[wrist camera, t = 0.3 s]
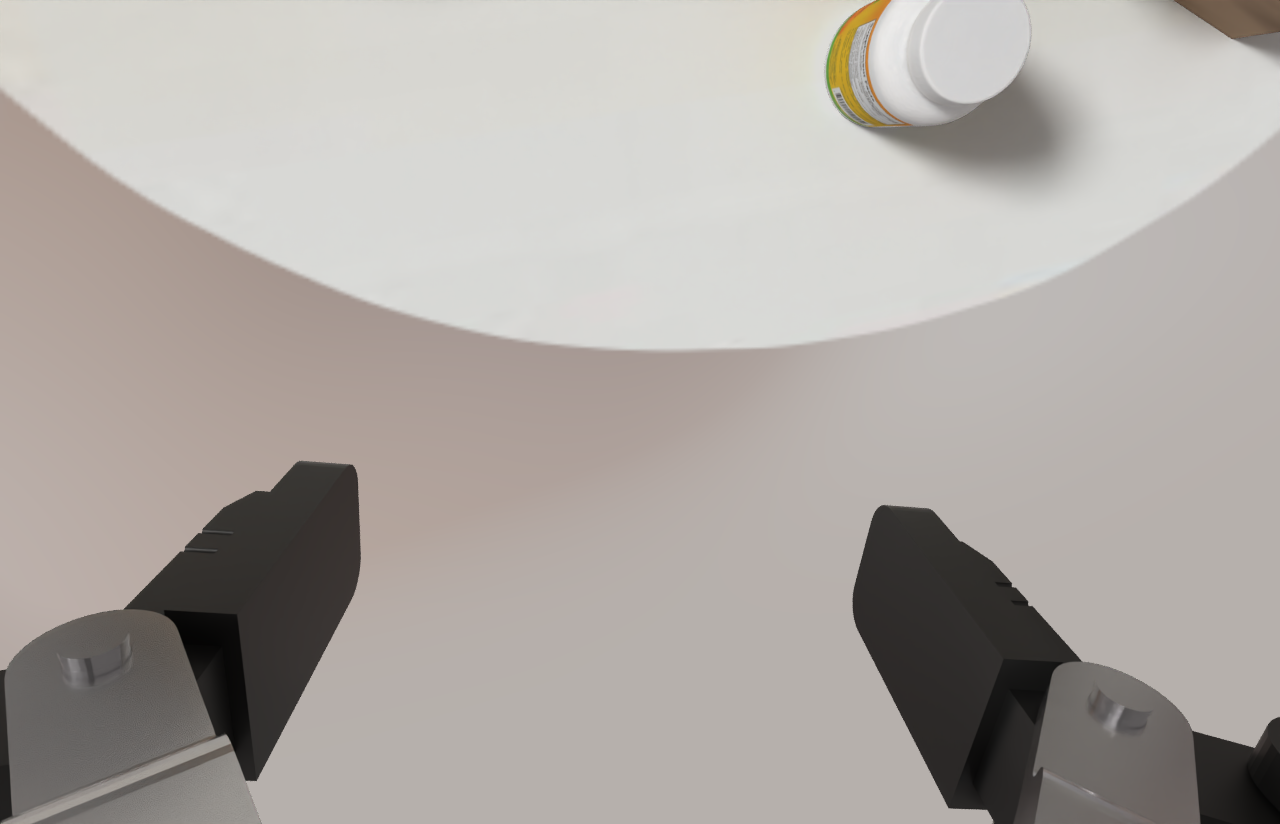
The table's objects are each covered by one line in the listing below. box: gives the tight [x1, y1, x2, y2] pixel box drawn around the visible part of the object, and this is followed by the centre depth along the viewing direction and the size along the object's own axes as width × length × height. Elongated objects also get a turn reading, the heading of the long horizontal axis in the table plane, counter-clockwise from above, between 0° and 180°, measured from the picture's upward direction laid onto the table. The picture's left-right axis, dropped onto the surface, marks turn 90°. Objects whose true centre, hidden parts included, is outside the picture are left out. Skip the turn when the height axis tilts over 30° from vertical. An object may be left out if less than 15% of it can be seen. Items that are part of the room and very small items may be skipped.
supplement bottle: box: [824, 0, 1031, 128], centre depth 30 cm, size 5×5×10 cm
